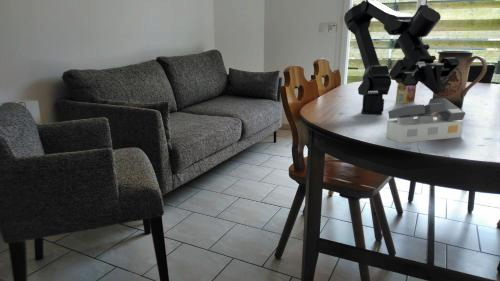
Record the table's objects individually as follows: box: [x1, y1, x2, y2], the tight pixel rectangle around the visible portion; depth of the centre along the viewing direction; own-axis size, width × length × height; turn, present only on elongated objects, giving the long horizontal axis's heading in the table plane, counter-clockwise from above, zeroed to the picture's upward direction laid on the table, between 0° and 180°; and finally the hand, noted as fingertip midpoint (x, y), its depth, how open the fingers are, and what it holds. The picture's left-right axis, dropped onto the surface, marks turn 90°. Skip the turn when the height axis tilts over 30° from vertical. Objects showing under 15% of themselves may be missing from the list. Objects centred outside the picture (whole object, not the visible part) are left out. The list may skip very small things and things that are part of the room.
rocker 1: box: [388, 103, 425, 120], centre depth 91 cm, size 8×4×2 cm, turn 14°
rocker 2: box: [412, 103, 446, 118], centre depth 93 cm, size 8×4×2 cm, turn 14°
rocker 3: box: [428, 97, 466, 121], centre depth 94 cm, size 8×4×2 cm, turn 15°
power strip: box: [385, 113, 464, 144], centre depth 94 cm, size 6×18×6 cm, turn 105°
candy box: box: [395, 83, 417, 105], centre depth 144 cm, size 9×4×15 cm, turn 134°
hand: (437, 93), depth 97 cm, fingers closed
